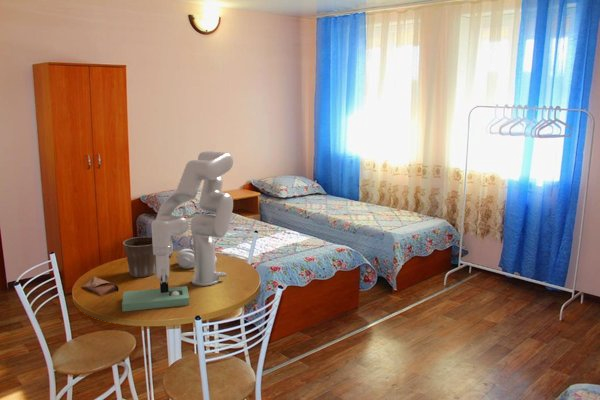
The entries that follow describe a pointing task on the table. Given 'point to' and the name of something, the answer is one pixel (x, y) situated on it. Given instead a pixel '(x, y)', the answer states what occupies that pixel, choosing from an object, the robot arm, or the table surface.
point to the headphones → (187, 258)
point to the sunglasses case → (100, 286)
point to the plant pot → (140, 256)
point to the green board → (154, 299)
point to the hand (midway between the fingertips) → (164, 291)
